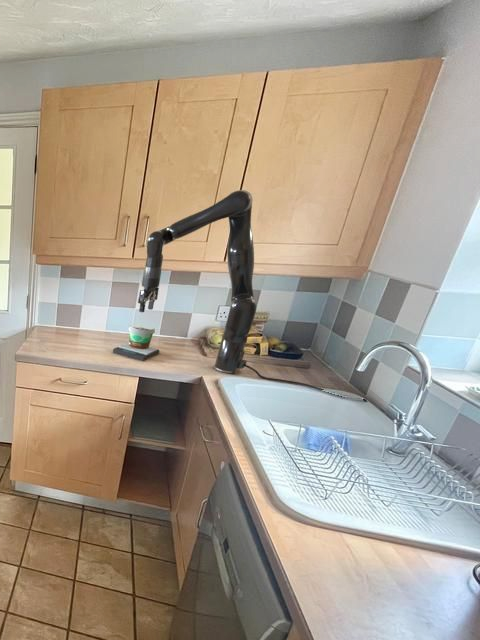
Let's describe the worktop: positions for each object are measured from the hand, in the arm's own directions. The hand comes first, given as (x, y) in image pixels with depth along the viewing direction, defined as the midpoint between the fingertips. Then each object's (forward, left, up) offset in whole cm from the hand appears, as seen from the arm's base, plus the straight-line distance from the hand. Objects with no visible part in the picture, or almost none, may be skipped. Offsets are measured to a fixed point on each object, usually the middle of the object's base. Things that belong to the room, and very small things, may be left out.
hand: (145, 310), depth 199 cm
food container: (0, +1, -19) cm, 19 cm away
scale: (0, +2, -22) cm, 22 cm away
